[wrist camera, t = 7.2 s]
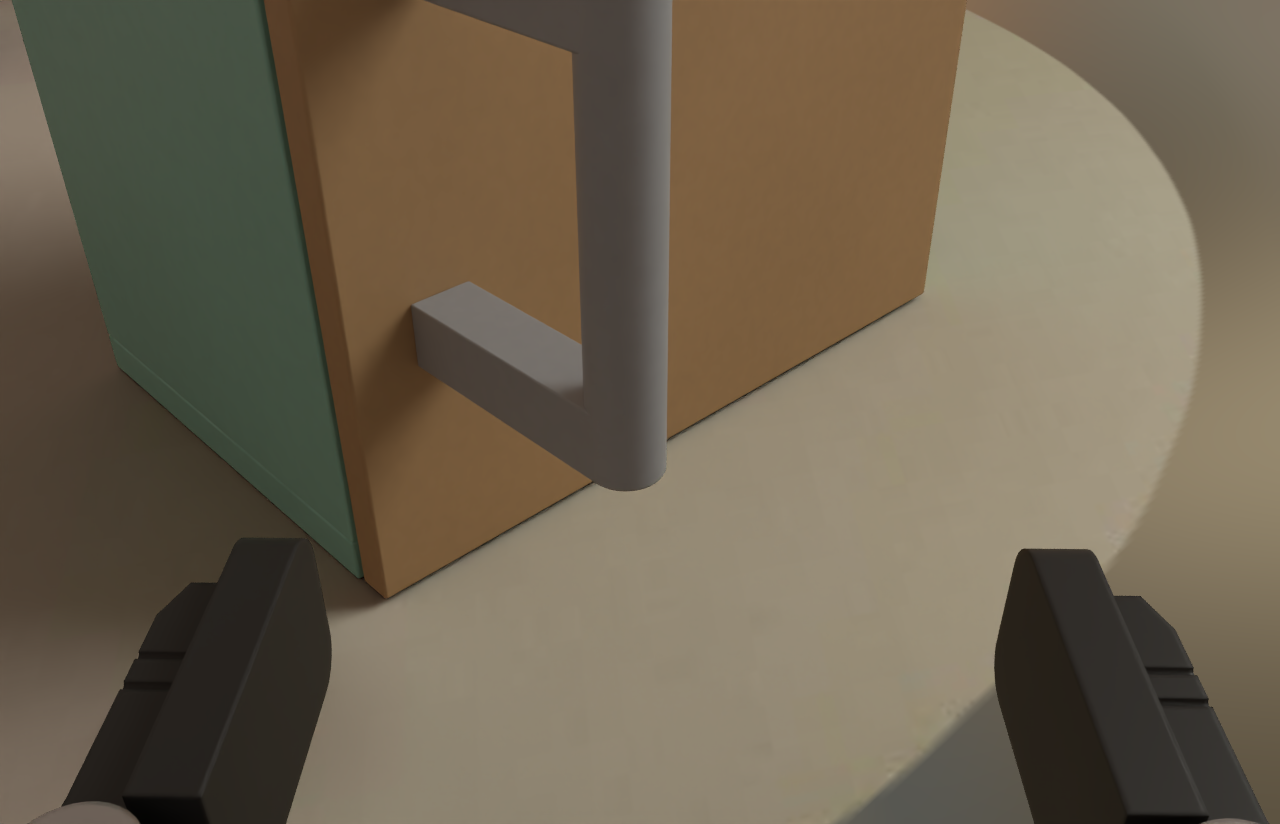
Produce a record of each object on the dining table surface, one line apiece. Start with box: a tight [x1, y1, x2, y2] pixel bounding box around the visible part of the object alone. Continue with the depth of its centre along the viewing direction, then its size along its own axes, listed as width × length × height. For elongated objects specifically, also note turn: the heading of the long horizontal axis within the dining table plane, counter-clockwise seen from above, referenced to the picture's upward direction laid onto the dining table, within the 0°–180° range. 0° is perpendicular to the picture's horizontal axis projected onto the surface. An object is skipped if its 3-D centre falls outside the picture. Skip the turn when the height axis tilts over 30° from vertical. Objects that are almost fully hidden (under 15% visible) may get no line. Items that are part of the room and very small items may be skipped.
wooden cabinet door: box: [264, 0, 967, 598], centre depth 28 cm, size 8×22×22 cm, turn 134°
